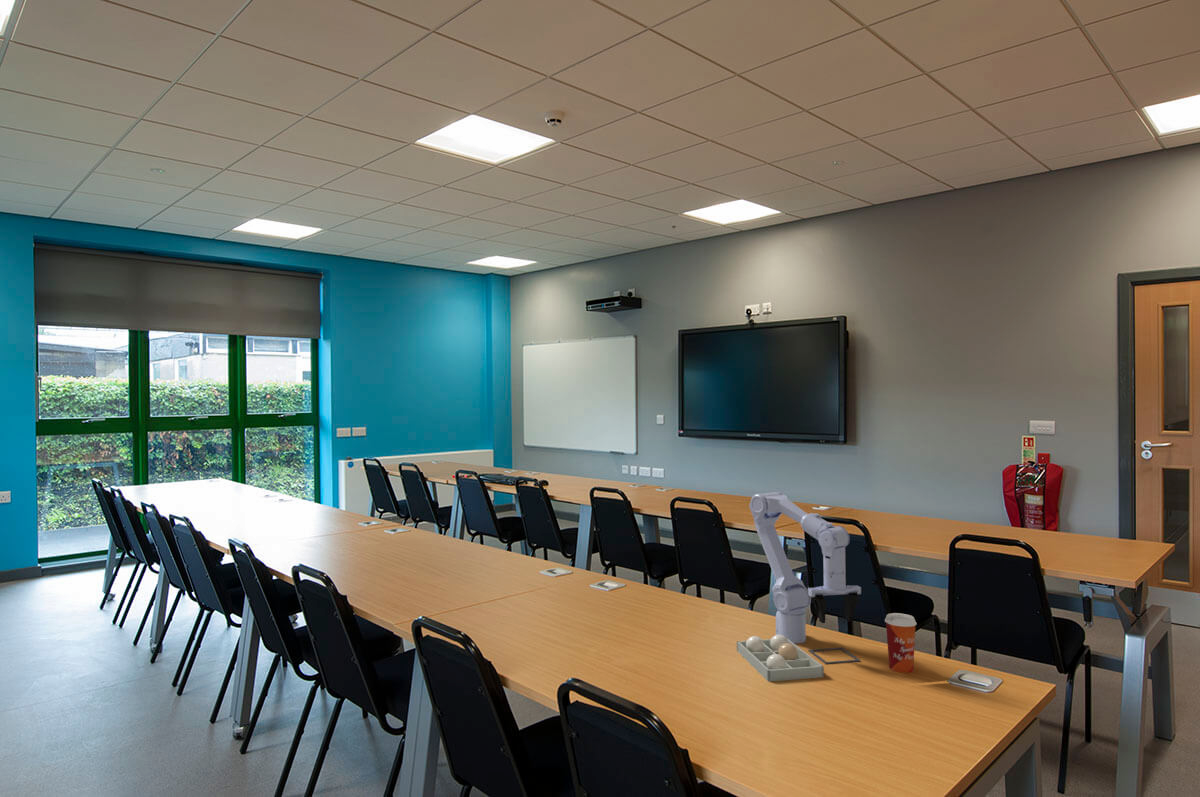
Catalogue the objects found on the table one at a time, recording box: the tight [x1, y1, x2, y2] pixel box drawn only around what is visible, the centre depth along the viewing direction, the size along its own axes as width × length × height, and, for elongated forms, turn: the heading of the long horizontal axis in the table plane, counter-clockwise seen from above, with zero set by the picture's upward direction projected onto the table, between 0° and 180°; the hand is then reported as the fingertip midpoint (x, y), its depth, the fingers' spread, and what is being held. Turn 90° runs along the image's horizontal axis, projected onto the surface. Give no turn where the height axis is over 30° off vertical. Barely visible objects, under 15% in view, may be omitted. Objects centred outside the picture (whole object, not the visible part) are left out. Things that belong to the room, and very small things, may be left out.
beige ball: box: [778, 643, 798, 661], centre depth 186 cm, size 5×5×5 cm
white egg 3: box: [766, 654, 786, 670], centre depth 178 cm, size 5×5×5 cm
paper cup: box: [884, 612, 918, 674], centre depth 181 cm, size 8×8×14 cm
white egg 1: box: [745, 635, 764, 653], centre depth 192 cm, size 5×5×5 cm
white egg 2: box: [770, 634, 789, 651], centre depth 193 cm, size 5×5×5 cm
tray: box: [736, 638, 825, 682], centre depth 185 cm, size 22×15×3 cm
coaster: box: [808, 647, 862, 665], centre depth 190 cm, size 10×10×1 cm
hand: (835, 621), depth 191 cm, fingers open, 7 cm apart
